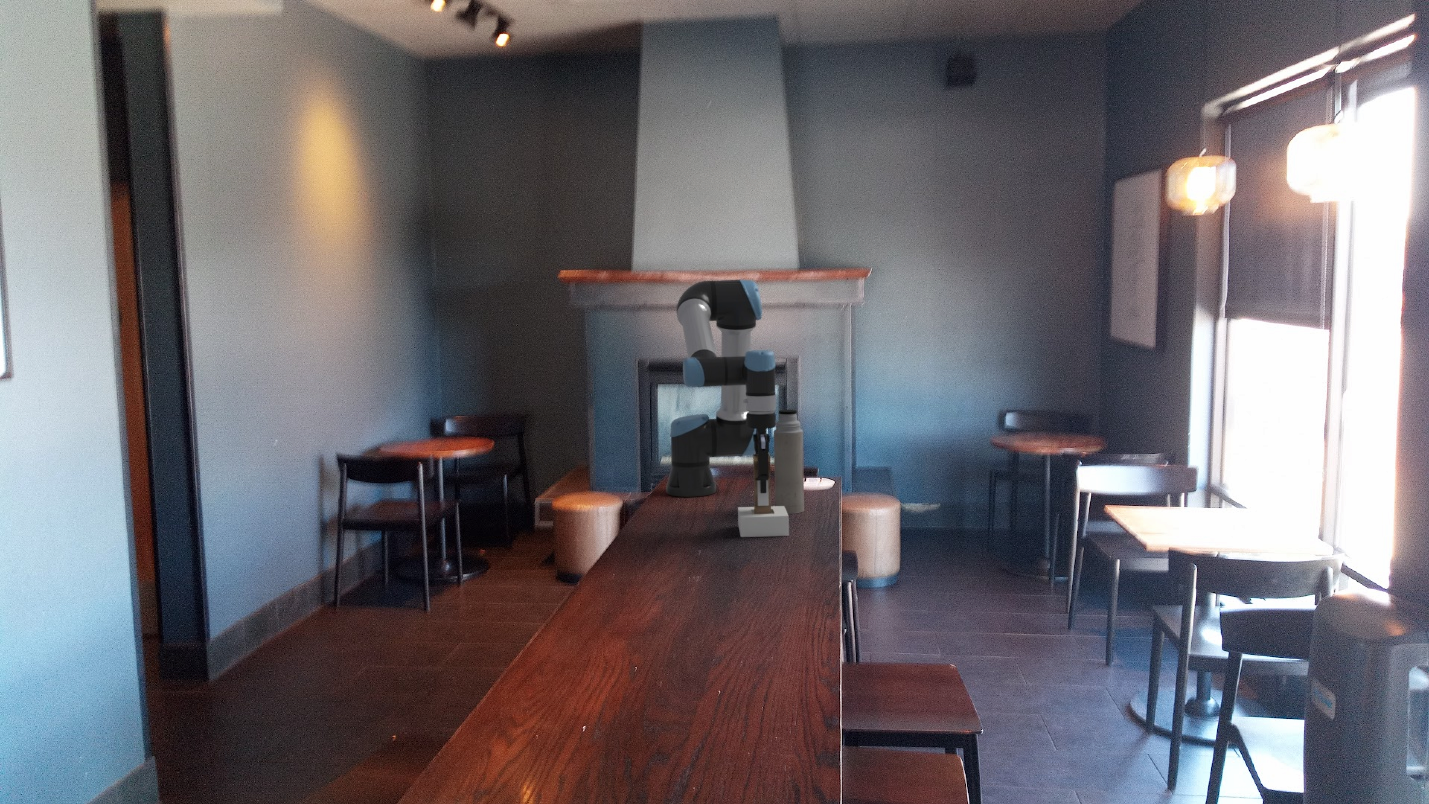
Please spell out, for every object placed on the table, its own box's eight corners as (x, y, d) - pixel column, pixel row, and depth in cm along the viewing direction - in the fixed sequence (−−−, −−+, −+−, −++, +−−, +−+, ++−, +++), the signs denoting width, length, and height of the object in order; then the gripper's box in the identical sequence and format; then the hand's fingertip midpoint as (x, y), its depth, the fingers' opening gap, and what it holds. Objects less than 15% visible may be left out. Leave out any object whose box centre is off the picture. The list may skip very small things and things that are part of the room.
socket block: (738, 526, 275) (738, 507, 275) (784, 524, 275) (784, 505, 275) (740, 537, 263) (740, 517, 263) (788, 535, 263) (788, 515, 263)
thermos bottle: (803, 507, 296) (801, 408, 293) (805, 513, 288) (803, 411, 285) (774, 507, 296) (772, 408, 293) (775, 514, 288) (773, 412, 285)
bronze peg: (754, 515, 271) (753, 454, 269) (770, 515, 271) (769, 453, 269) (755, 519, 267) (754, 456, 265) (771, 519, 267) (770, 456, 265)
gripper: (744, 408, 274) (745, 497, 277) (747, 416, 257) (749, 511, 260) (773, 407, 274) (774, 496, 277) (778, 415, 257) (780, 510, 260)
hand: (762, 503), depth 268 cm, fingers closed on bronze peg, 4 cm apart
